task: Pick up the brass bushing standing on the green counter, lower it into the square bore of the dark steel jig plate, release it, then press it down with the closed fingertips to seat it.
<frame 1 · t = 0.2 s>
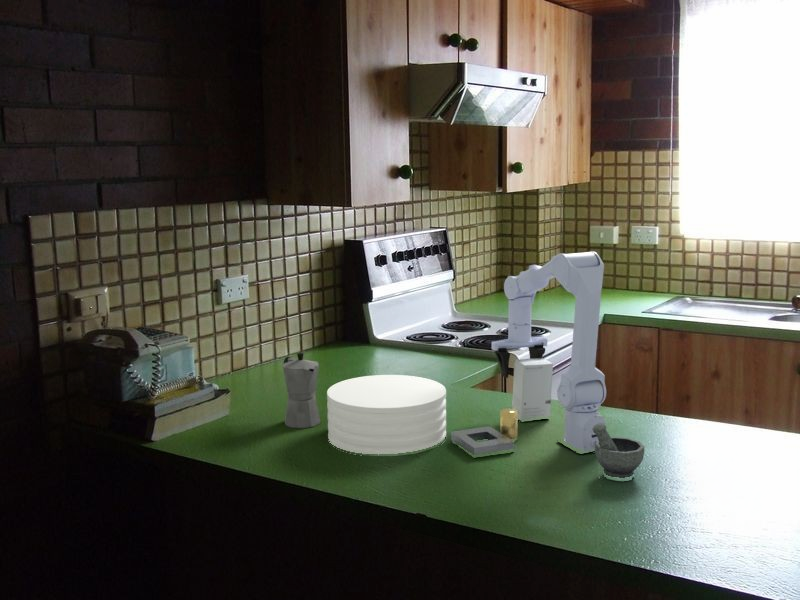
hand: (519, 375, 220), 10 cm above the countertop, tool pointing down, fingers open, 7 cm apart
plate stack: (387, 437, 206), on the countertop
coffeepot: (300, 422, 217), on the countertop
bushing: (508, 439, 202), on the countertop
mortar and pestle: (615, 477, 179), on the countertop
skincare box: (531, 418, 218), on the countertop, touching gripper
jig: (482, 447, 197), on the countertop
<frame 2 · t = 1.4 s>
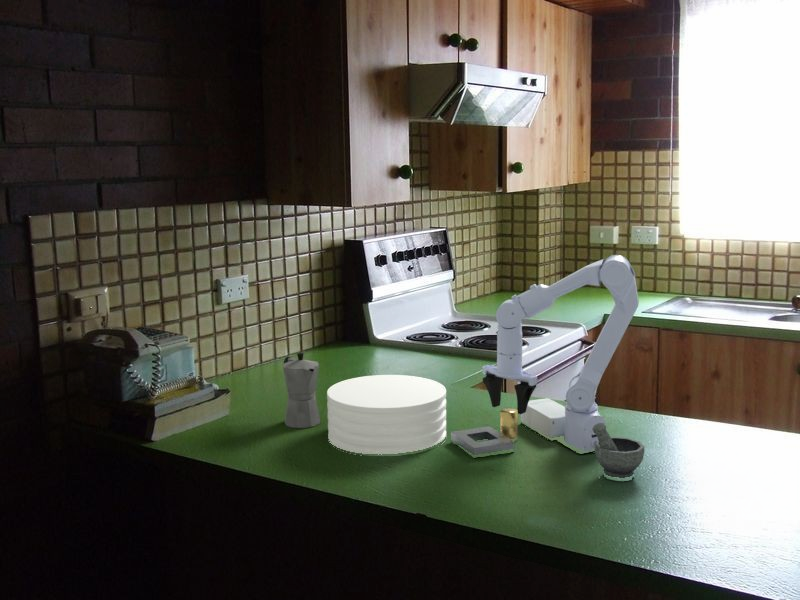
hand: (508, 409, 201), 7 cm above the countertop, tool pointing down, fingers open, 7 cm apart
skincare box: (534, 409, 215), point 3 cm above the countertop
everything else where it was.
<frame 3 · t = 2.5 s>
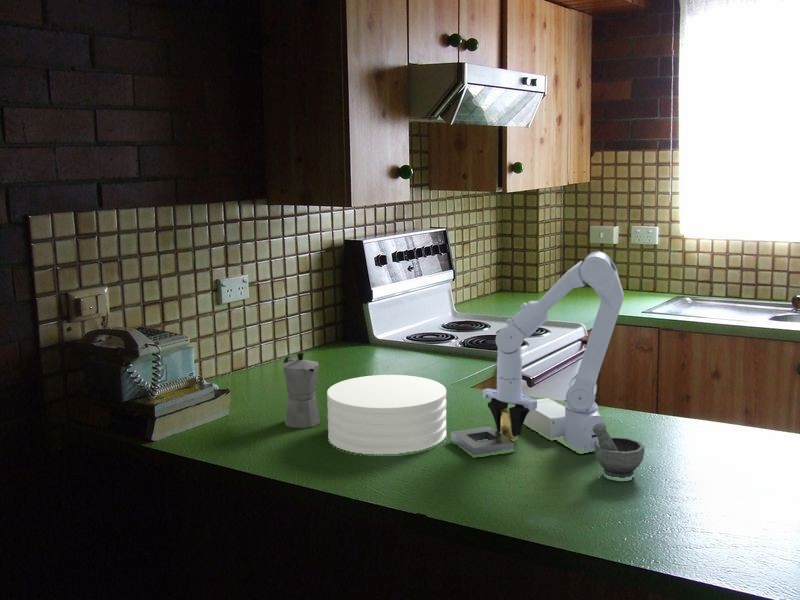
hand: (508, 433, 202), 2 cm above the countertop, tool pointing down, fingers closed on bushing, 4 cm apart
bushing: (508, 439, 202), on the countertop, touching gripper
everything else where it was.
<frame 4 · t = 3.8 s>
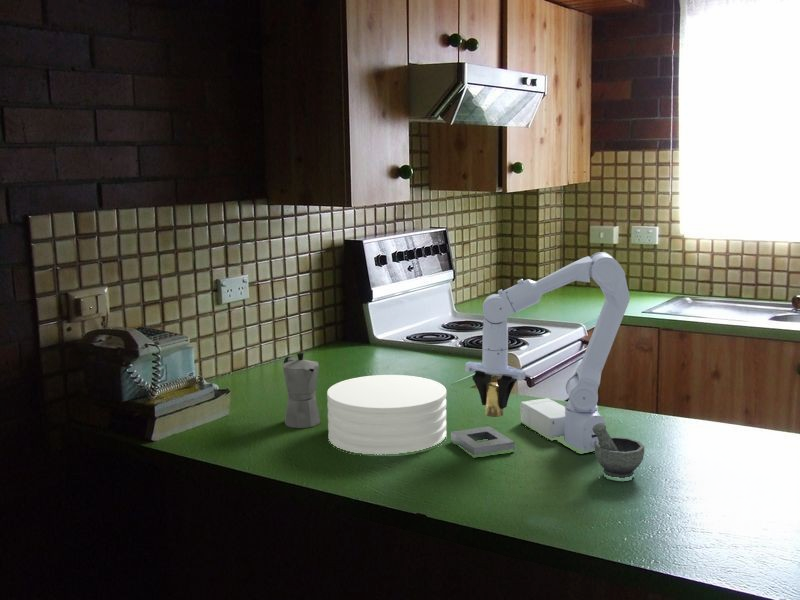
hand: (494, 405, 198), 9 cm above the countertop, tool pointing down, fingers closed on bushing, 4 cm apart
bushing: (494, 414, 198), point 7 cm above the countertop, touching gripper
everything else where it was.
when the fingers open (3 cm above the countertop, at t = 5.3 s): bushing drops 1 cm, resting in jig.
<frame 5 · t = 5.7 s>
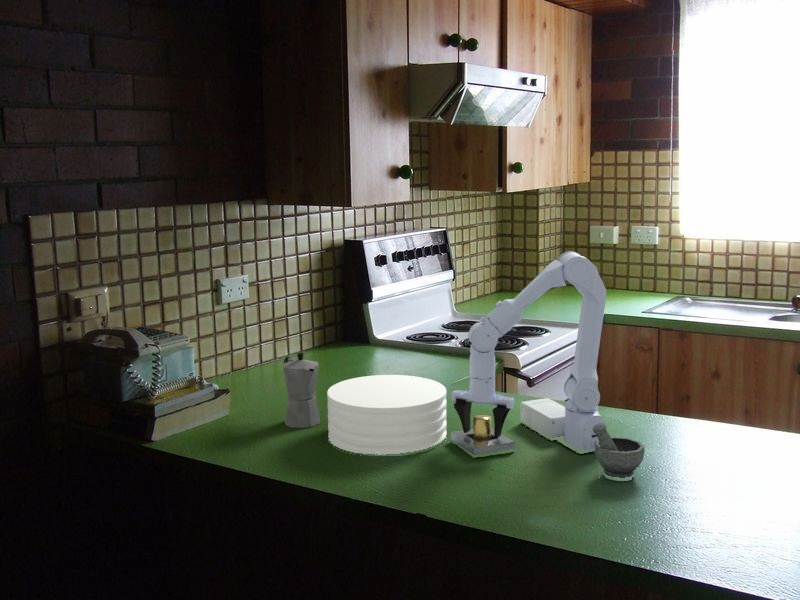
hand: (482, 434, 197), 3 cm above the countertop, tool pointing down, fingers open, 7 cm apart
bushing: (482, 447, 197), resting in jig
everything else where it was.
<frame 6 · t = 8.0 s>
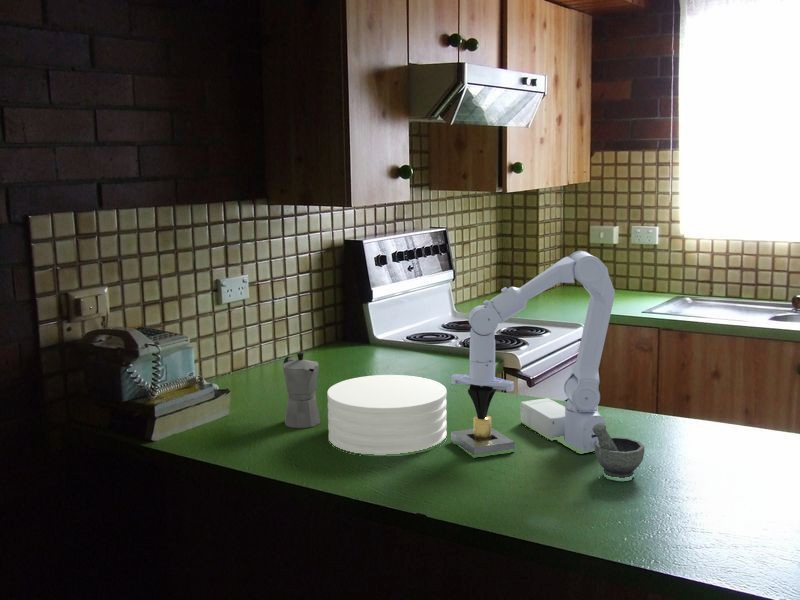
hand: (482, 417, 196), 7 cm above the countertop, tool pointing down, fingers closed, pressing on bushing
bushing: (482, 447, 197), resting in jig, touching gripper
everything else where it was.
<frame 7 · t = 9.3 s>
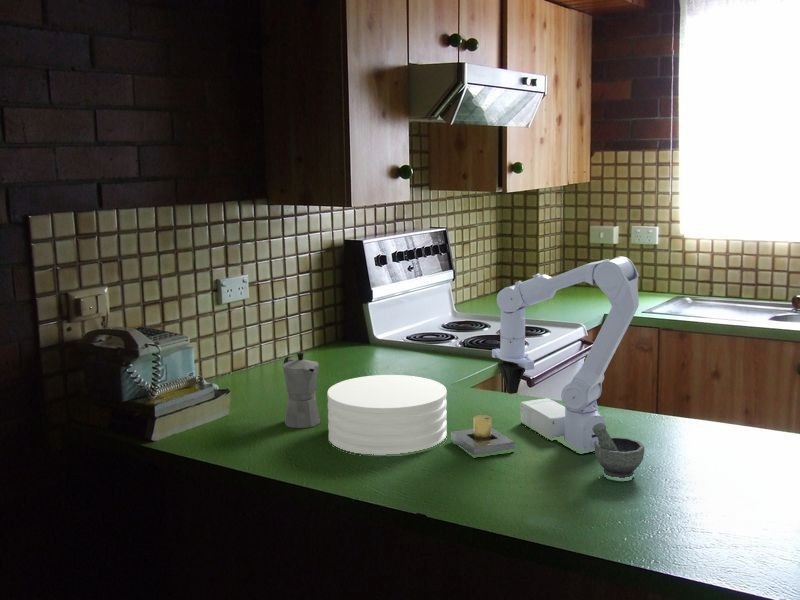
hand: (512, 392, 205), 10 cm above the countertop, tool pointing down, fingers closed
bushing: (482, 447, 197), resting in jig
everything else where it was.
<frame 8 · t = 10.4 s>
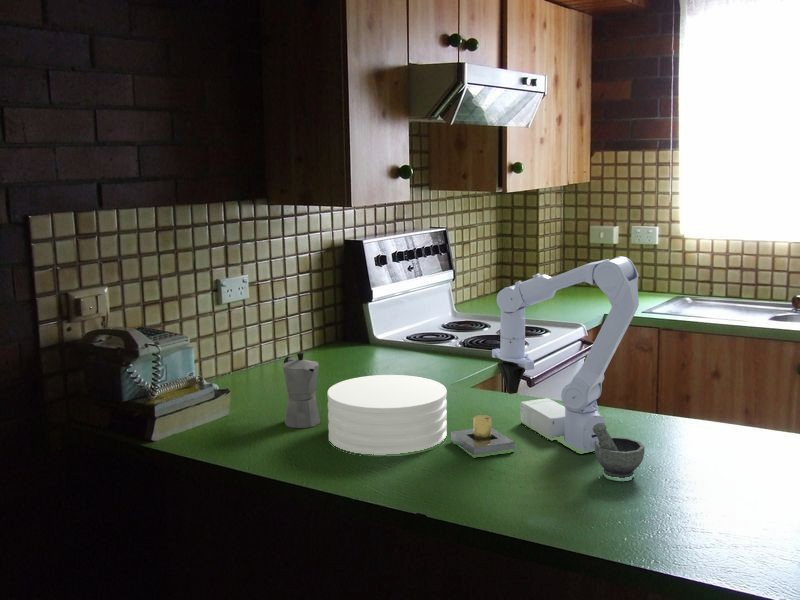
hand: (512, 392, 205), 10 cm above the countertop, tool pointing down, fingers closed
nothing on the countertop moved.
at the end: bushing 0.1 cm off-centre on the jig, point 0.0 cm above the jig's base; bushing tilted 0°; the gripper is holding nothing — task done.
